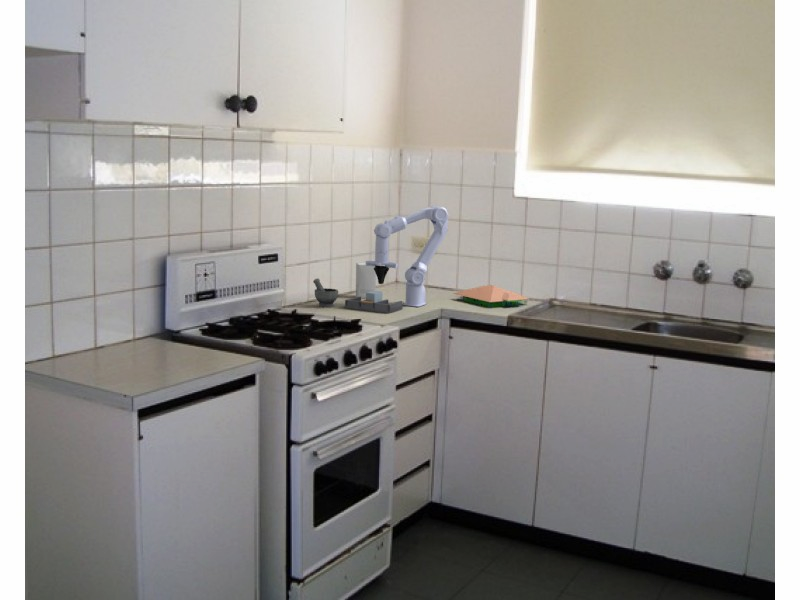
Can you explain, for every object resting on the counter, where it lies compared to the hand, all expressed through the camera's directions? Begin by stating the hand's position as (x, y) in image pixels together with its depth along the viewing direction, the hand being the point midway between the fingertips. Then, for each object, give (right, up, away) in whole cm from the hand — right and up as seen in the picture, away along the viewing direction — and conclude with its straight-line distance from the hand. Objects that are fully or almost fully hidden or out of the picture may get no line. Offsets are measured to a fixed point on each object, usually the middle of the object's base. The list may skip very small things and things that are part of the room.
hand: (381, 283), depth 359 cm
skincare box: (-8, -6, +23) cm, 25 cm away
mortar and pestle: (-24, -10, -5) cm, 26 cm away
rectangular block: (-3, -10, -7) cm, 12 cm away
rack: (-3, -11, -7) cm, 13 cm away
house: (+48, -8, +21) cm, 54 cm away
